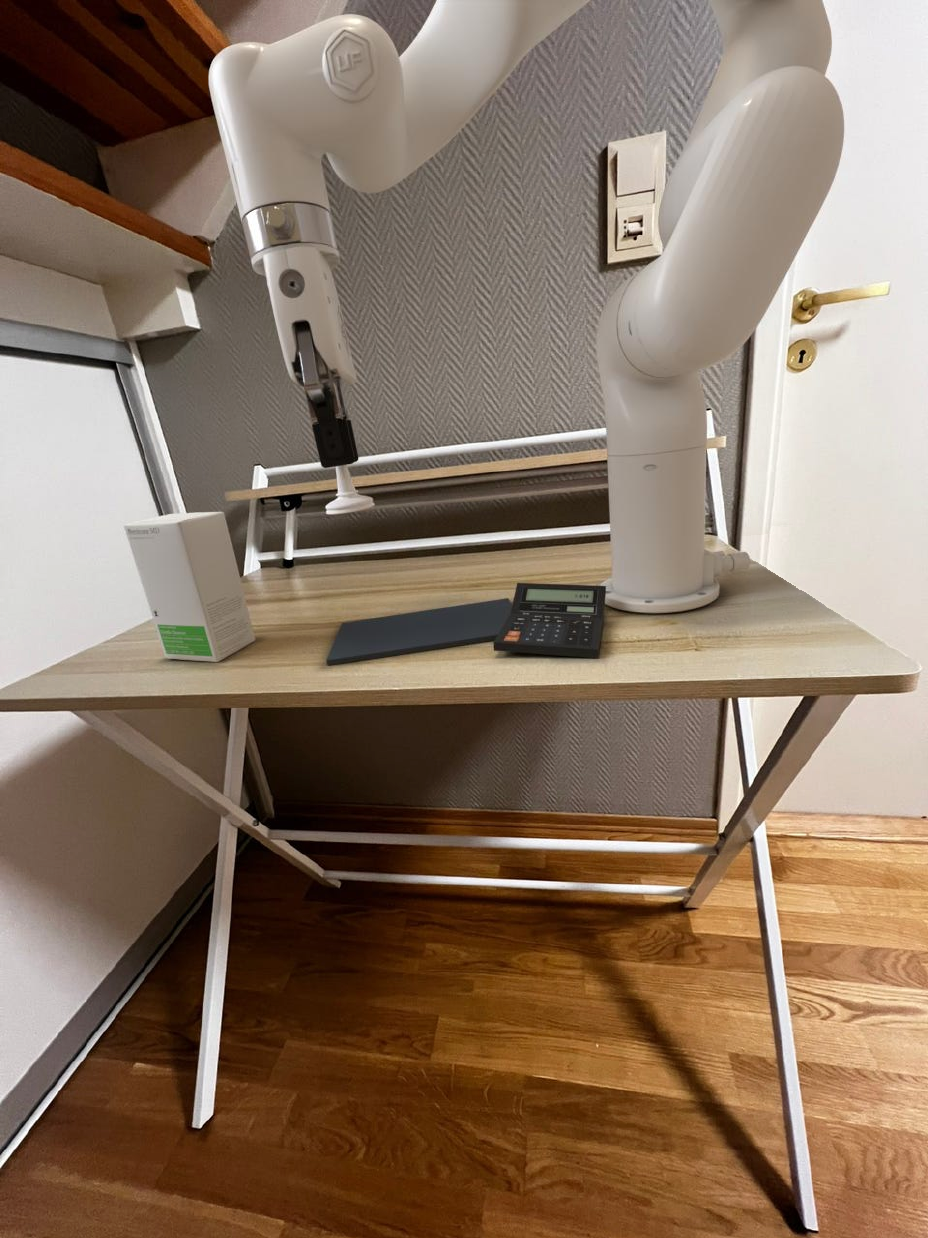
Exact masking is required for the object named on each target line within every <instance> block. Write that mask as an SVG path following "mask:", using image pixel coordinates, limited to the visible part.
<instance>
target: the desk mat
mask: <svg viewBox="0 0 928 1238" xmlns="http://www.w3.org/2000/svg"><path fill="white" fill-rule="evenodd" d="M511 609H512V603H511V600H510V599H509V597H507V598H498V599H493V600H487V601H479V602H473V603H465V604H459V605H452V606H446V607H440V608H433V609H426V610H419V611H412V612H405V613H398V614H391V615H386V616H379V617H371V618H366V619H358V620H353V621H345V622H342V623H341V625H340V627H339V630H338V631H337V634H336V637H335V639H334V641H333V643H332V646H331V648H330V651H329V653H328V655H327V657H326V660H325V661H326V666H335V665H341V664H347V663H354V662H360V661H367V660H372V659H380V658H386V657H394V656H400V655H407V654H413V653H420V652H426V651H434V650H441V649H447V648H452V647H460V646H467V645H474V644H479V643H485V642H492V641H493V642H494V640H495V639H496V637H497V635H498V634H499V632H500V630H501V629H502V627H503V625H504V624H505V622H506V620H507V618H508V617H509V615H510V613H511Z"/></svg>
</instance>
